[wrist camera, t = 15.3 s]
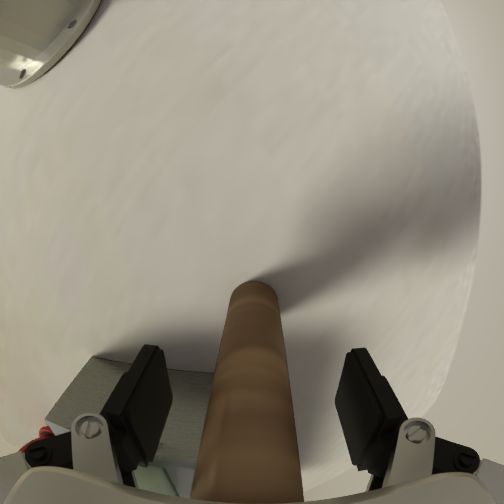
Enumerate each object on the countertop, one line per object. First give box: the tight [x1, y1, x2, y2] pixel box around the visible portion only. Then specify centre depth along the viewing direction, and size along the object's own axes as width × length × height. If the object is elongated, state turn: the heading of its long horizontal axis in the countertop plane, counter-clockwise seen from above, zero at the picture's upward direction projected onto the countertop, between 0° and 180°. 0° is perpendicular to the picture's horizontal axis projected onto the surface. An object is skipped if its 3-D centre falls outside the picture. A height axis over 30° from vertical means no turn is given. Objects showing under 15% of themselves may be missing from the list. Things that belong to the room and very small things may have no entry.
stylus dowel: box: [189, 281, 304, 504], centre depth 10 cm, size 3×3×14 cm
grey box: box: [45, 357, 214, 499], centre depth 17 cm, size 18×12×8 cm, turn 179°
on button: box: [134, 465, 176, 496], centre depth 12 cm, size 4×4×5 cm
